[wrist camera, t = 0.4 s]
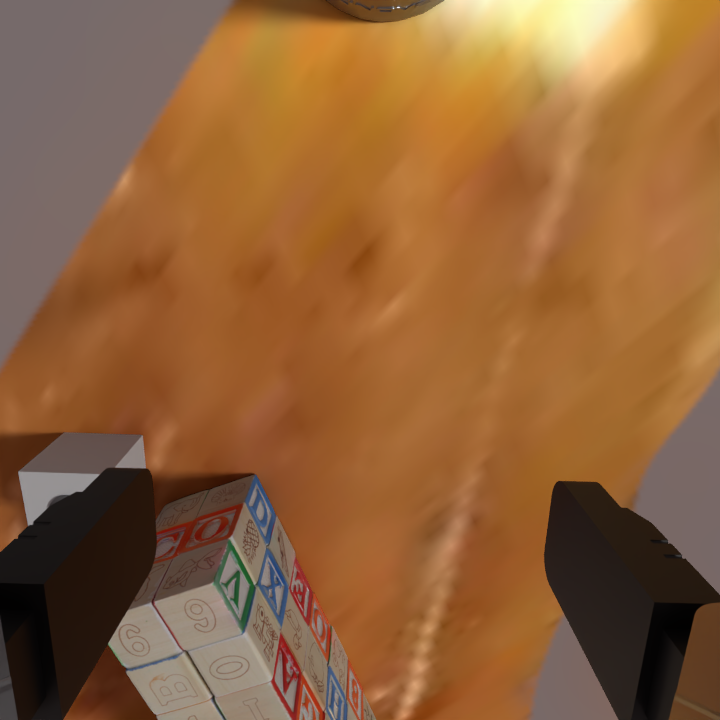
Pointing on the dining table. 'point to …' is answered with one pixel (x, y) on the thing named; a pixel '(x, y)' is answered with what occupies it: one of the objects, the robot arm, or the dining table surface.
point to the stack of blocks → (233, 620)
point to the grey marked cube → (75, 466)
